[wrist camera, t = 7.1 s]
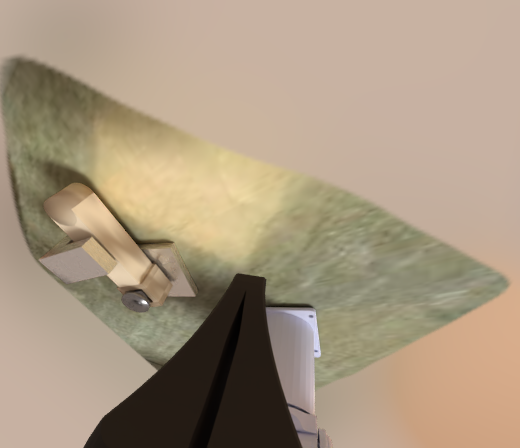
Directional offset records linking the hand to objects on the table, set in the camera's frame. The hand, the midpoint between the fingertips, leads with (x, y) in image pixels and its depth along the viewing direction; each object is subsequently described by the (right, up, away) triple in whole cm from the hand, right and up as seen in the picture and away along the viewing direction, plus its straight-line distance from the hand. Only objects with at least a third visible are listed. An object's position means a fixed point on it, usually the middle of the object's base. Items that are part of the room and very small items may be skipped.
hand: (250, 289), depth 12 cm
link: (-12, +1, +12) cm, 17 cm away
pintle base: (-10, -2, +15) cm, 19 cm away
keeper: (-14, +3, +13) cm, 19 cm away
